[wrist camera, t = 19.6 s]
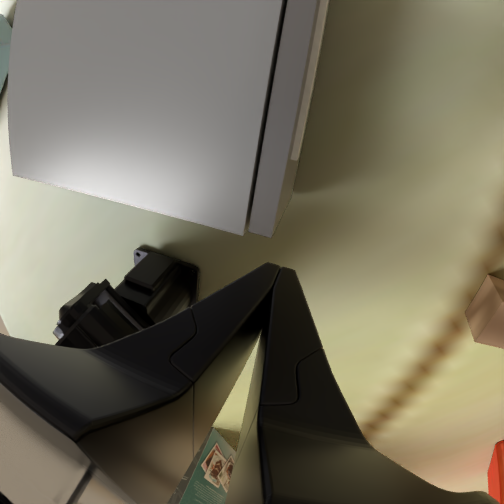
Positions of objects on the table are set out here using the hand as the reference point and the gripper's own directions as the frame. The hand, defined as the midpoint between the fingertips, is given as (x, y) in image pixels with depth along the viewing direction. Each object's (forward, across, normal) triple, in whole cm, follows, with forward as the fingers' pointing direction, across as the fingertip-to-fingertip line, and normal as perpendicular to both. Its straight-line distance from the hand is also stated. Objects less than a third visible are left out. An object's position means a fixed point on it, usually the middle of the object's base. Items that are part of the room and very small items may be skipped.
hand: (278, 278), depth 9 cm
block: (+12, -18, +5) cm, 22 cm away
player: (+12, +12, -7) cm, 19 cm away
